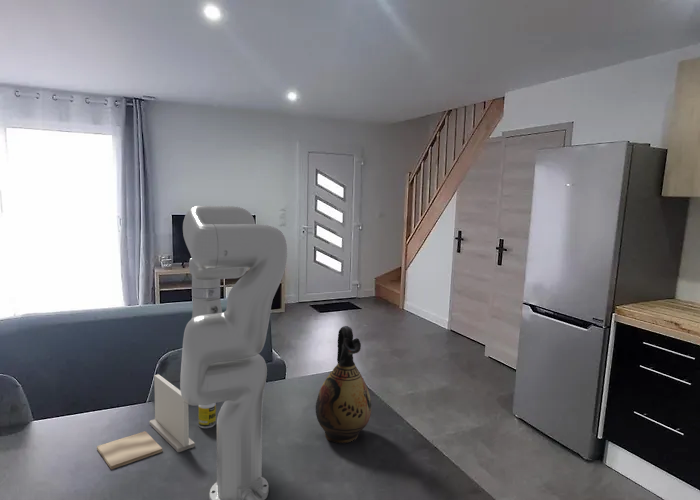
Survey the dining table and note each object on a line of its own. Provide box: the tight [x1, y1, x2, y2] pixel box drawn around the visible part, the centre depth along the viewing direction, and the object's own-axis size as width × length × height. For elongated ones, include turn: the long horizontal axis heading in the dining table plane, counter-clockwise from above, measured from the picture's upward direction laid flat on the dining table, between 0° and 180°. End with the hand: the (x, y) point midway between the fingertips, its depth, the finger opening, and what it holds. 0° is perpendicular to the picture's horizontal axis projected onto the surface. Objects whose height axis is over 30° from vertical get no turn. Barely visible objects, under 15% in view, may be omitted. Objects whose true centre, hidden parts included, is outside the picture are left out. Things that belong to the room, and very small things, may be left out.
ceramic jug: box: [315, 325, 373, 445], centre depth 125 cm, size 17×15×30 cm
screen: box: [148, 373, 196, 453], centre depth 123 cm, size 20×4×14 cm, turn 43°
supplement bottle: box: [197, 403, 217, 429], centre depth 129 cm, size 5×5×8 cm
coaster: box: [96, 430, 163, 470], centre depth 115 cm, size 12×12×1 cm
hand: (206, 352), depth 128 cm, fingers open, 9 cm apart
